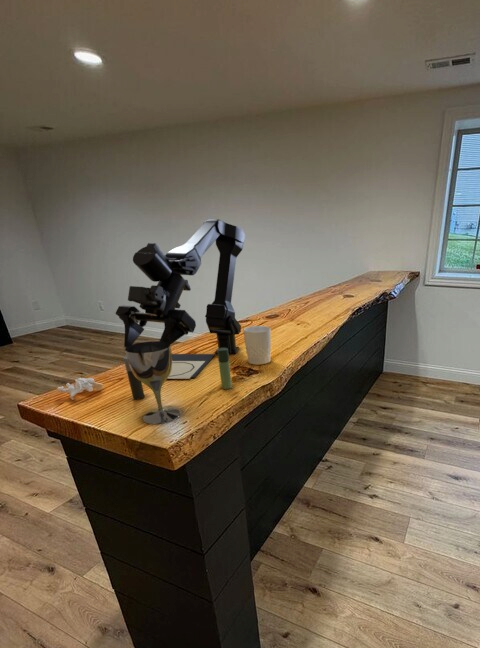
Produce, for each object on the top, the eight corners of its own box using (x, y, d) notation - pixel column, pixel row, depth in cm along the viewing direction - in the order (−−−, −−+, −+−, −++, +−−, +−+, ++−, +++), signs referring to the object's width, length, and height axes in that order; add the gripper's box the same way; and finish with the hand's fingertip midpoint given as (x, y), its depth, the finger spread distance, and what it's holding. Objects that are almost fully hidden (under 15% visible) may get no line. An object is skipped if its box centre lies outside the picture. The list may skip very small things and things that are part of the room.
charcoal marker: (136, 395, 82) (126, 355, 78) (146, 395, 82) (138, 355, 78) (130, 399, 80) (121, 358, 76) (141, 399, 80) (132, 358, 76)
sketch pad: (164, 354, 110) (164, 353, 110) (215, 355, 110) (214, 353, 110) (131, 379, 91) (131, 378, 91) (193, 379, 91) (193, 378, 91)
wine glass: (131, 420, 71) (114, 350, 65) (161, 404, 77) (148, 339, 72) (162, 428, 68) (148, 355, 62) (190, 410, 75) (179, 343, 69)
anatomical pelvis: (87, 371, 86) (103, 373, 83) (92, 387, 87) (108, 390, 84) (51, 382, 79) (68, 385, 76) (57, 399, 80) (74, 402, 78)
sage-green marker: (223, 385, 88) (218, 347, 84) (233, 385, 88) (229, 347, 84) (220, 389, 86) (215, 350, 82) (230, 389, 86) (226, 350, 82)
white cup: (267, 366, 101) (265, 333, 97) (241, 364, 102) (238, 331, 98) (275, 358, 108) (274, 326, 104) (252, 356, 110) (249, 325, 106)
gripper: (112, 270, 81) (82, 327, 75) (180, 273, 76) (152, 334, 70) (144, 299, 91) (119, 352, 85) (206, 304, 86) (183, 359, 80)
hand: (142, 349), depth 80 cm, fingers open, 9 cm apart
